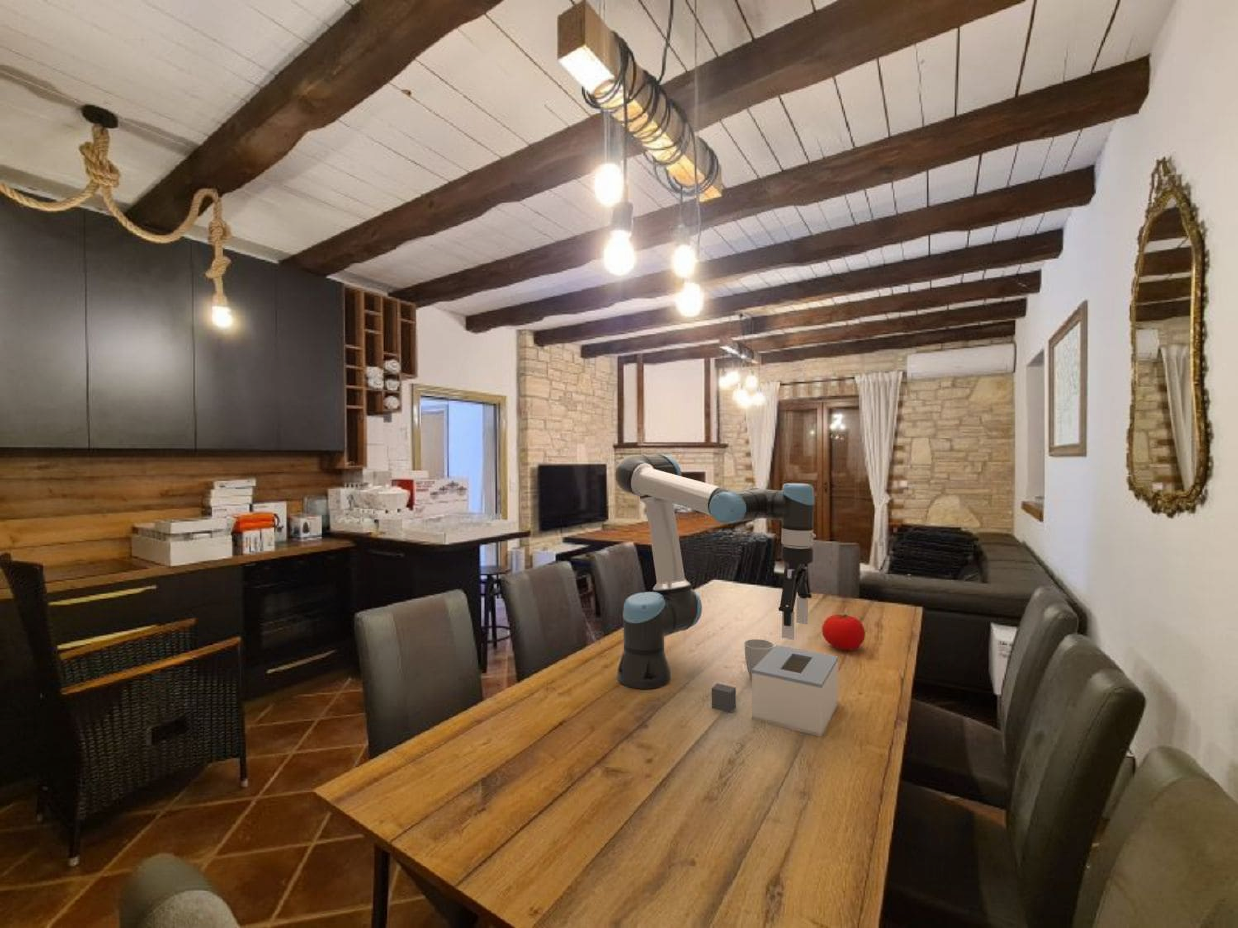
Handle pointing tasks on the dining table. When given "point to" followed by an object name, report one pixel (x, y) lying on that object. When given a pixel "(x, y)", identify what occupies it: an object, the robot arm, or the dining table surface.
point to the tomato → (843, 632)
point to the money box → (795, 689)
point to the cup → (756, 652)
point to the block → (724, 697)
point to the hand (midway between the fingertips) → (795, 630)
